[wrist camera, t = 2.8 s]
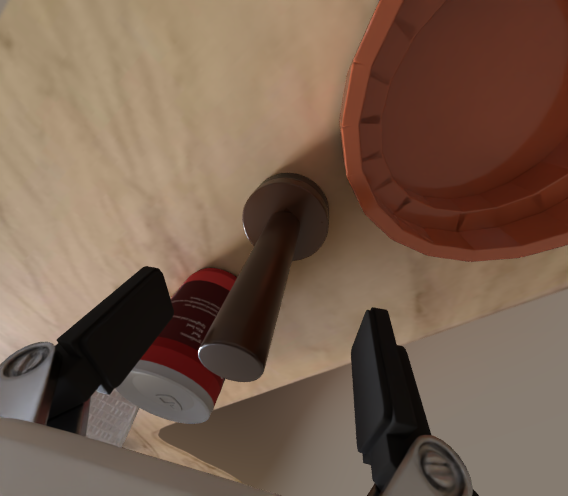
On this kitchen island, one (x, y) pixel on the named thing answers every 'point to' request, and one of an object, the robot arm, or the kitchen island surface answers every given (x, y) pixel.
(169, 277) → the kitchen island surface
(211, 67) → the kitchen island surface
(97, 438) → the skyscraper
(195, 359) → the canned food
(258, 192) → the brown coffee tamper
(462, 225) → the bowl
